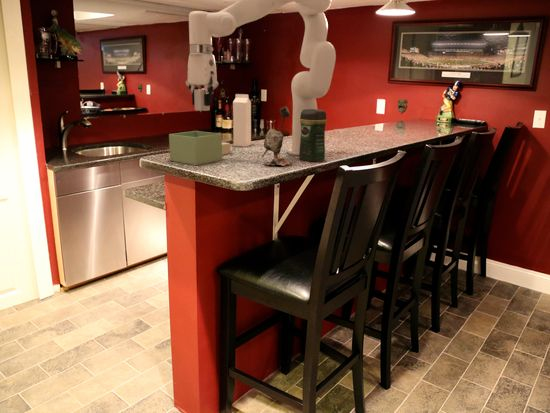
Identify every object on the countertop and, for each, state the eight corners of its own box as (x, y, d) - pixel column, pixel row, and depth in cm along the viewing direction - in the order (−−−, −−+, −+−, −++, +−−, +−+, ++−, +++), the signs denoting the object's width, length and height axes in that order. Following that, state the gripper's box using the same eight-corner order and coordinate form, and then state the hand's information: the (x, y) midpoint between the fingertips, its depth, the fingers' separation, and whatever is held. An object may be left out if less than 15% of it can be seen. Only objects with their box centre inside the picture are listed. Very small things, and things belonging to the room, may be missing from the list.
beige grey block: (230, 153, 177) (230, 143, 176) (222, 154, 174) (222, 144, 173) (221, 151, 180) (220, 141, 179) (213, 153, 177) (213, 143, 176)
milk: (238, 144, 201) (238, 93, 195) (251, 145, 199) (251, 94, 193) (233, 146, 195) (232, 94, 189) (246, 146, 194) (245, 94, 187)
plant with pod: (272, 160, 163) (272, 105, 157) (295, 165, 156) (297, 106, 150) (256, 163, 157) (256, 105, 152) (279, 168, 150) (280, 107, 144)
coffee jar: (328, 160, 164) (330, 109, 159) (311, 163, 160) (313, 110, 155) (311, 156, 172) (313, 107, 167) (295, 158, 168) (296, 108, 162)
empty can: (212, 110, 158) (212, 89, 156) (202, 110, 154) (201, 90, 152) (202, 109, 161) (201, 89, 159) (191, 109, 157) (191, 89, 155)
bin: (222, 159, 164) (221, 133, 161) (196, 165, 153) (195, 137, 151) (196, 155, 171) (195, 130, 168) (170, 160, 161) (168, 134, 158)
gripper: (227, 51, 150) (227, 106, 155) (191, 51, 159) (192, 103, 165) (211, 49, 144) (212, 107, 149) (175, 50, 154) (177, 104, 159)
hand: (202, 104), depth 157 cm, fingers closed on empty can, 5 cm apart
